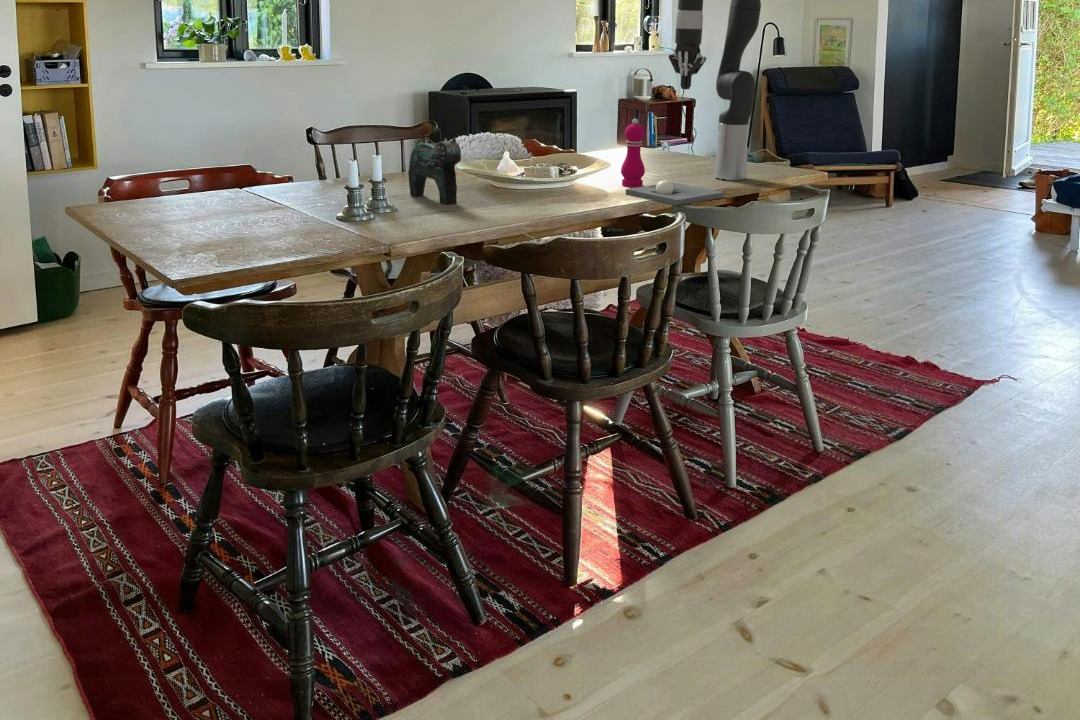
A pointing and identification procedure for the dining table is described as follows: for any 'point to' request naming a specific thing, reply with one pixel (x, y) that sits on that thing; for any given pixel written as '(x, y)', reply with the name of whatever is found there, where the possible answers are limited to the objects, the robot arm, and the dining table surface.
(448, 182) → the ceramic cat
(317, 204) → the dining table surface
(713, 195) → the plate
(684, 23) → the robot arm
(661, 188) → the ball
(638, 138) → the pepper mill
